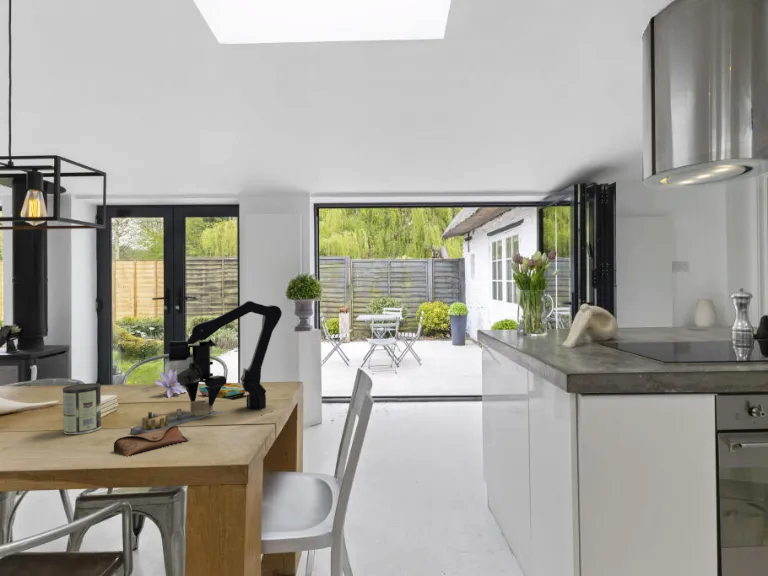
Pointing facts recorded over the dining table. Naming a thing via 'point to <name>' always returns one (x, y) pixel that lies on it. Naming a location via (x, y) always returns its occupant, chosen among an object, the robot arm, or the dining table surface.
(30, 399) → the dining table surface
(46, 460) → the dining table surface
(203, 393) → the puzzle game
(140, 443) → the sunglasses case
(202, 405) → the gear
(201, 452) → the dining table surface
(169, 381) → the water lily
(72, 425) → the coffee can
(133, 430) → the gear board
